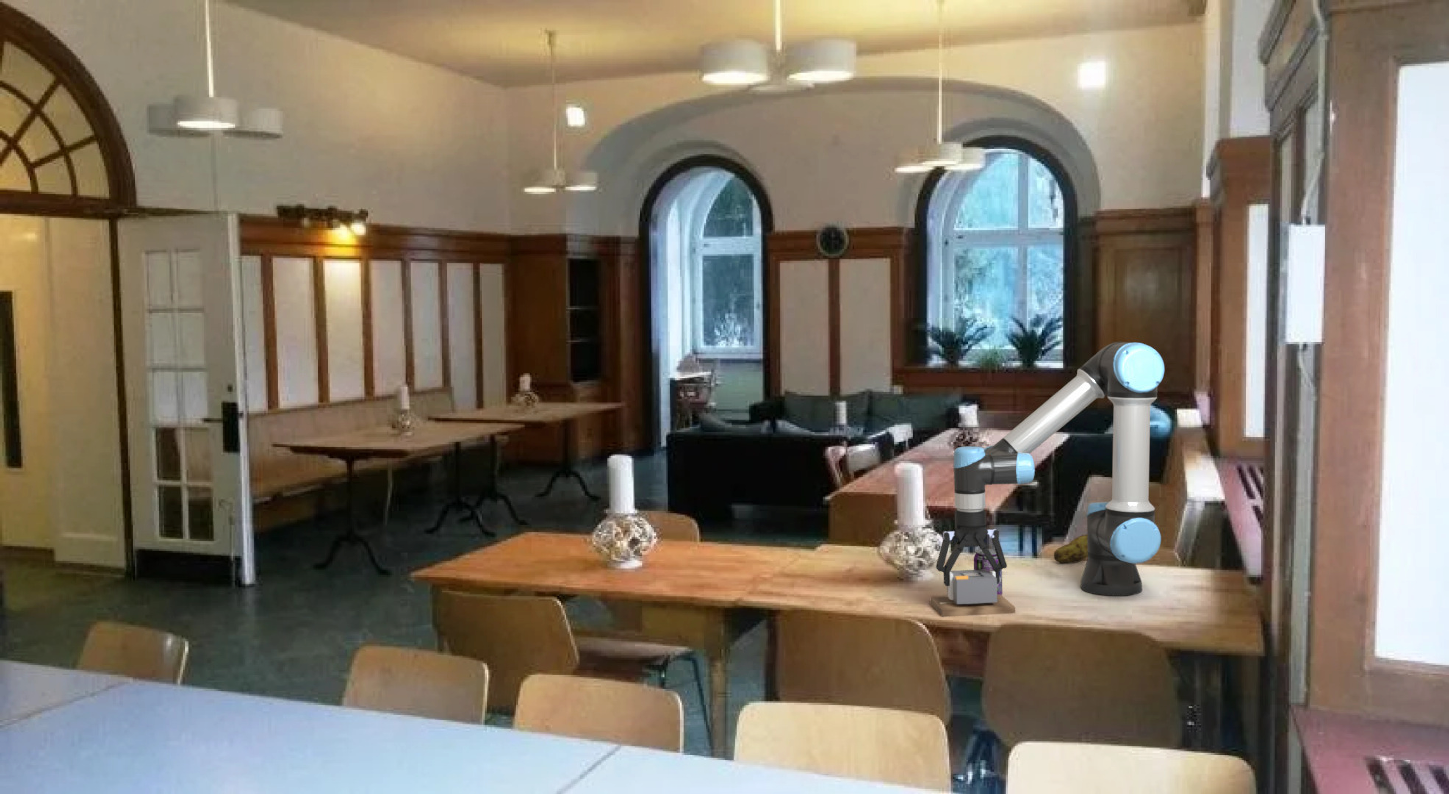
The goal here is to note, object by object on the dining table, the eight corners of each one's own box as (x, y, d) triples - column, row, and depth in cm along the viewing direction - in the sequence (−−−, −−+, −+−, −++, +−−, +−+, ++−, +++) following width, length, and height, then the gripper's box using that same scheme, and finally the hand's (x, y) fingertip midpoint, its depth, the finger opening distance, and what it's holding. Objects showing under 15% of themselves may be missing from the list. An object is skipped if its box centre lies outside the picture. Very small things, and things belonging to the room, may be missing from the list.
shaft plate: (1000, 600, 305) (1000, 593, 305) (1015, 612, 292) (1015, 606, 292) (930, 603, 304) (930, 597, 304) (942, 616, 291) (942, 609, 291)
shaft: (977, 600, 300) (976, 572, 299) (980, 603, 296) (980, 575, 296) (962, 600, 300) (962, 573, 299) (966, 604, 296) (966, 576, 295)
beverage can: (982, 601, 304) (981, 554, 303) (969, 595, 311) (968, 549, 310) (1007, 598, 306) (1006, 552, 305) (994, 592, 313) (993, 547, 312)
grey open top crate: (986, 592, 303) (985, 567, 303) (997, 602, 293) (996, 575, 293) (947, 594, 303) (946, 568, 302) (957, 604, 293) (956, 577, 292)
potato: (1052, 559, 350) (1051, 532, 349) (1098, 559, 347) (1097, 532, 347) (1054, 565, 342) (1054, 538, 341) (1101, 565, 339) (1101, 538, 339)
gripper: (1010, 504, 300) (1012, 591, 302) (921, 508, 299) (923, 596, 301) (1019, 509, 293) (1021, 598, 295) (928, 513, 292) (930, 603, 293)
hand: (972, 597), depth 298 cm, fingers closed on grey open top crate, 10 cm apart
